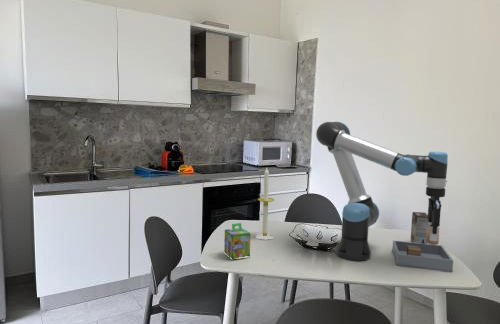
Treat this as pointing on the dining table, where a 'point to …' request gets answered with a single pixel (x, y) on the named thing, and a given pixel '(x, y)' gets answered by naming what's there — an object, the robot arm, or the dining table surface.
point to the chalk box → (237, 242)
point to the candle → (265, 203)
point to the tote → (423, 256)
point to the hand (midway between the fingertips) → (432, 238)
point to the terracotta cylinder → (429, 236)
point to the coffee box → (419, 227)
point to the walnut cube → (413, 250)
